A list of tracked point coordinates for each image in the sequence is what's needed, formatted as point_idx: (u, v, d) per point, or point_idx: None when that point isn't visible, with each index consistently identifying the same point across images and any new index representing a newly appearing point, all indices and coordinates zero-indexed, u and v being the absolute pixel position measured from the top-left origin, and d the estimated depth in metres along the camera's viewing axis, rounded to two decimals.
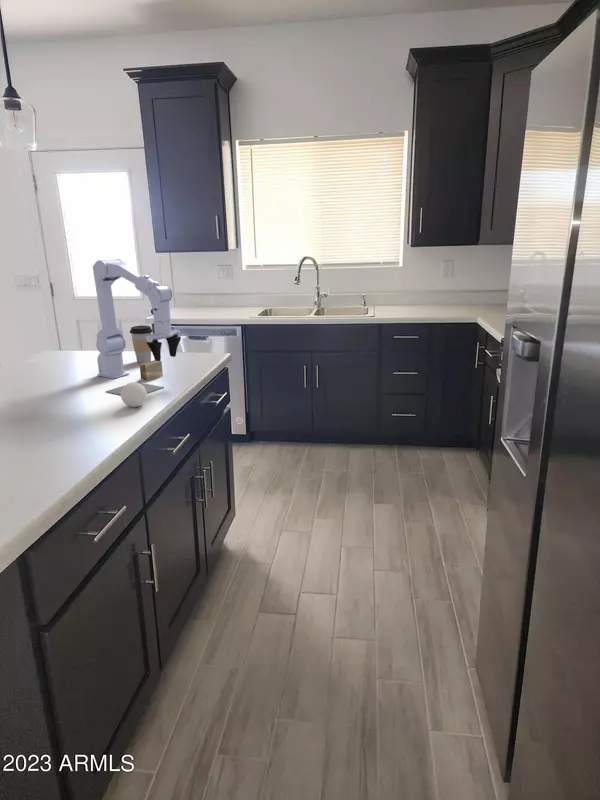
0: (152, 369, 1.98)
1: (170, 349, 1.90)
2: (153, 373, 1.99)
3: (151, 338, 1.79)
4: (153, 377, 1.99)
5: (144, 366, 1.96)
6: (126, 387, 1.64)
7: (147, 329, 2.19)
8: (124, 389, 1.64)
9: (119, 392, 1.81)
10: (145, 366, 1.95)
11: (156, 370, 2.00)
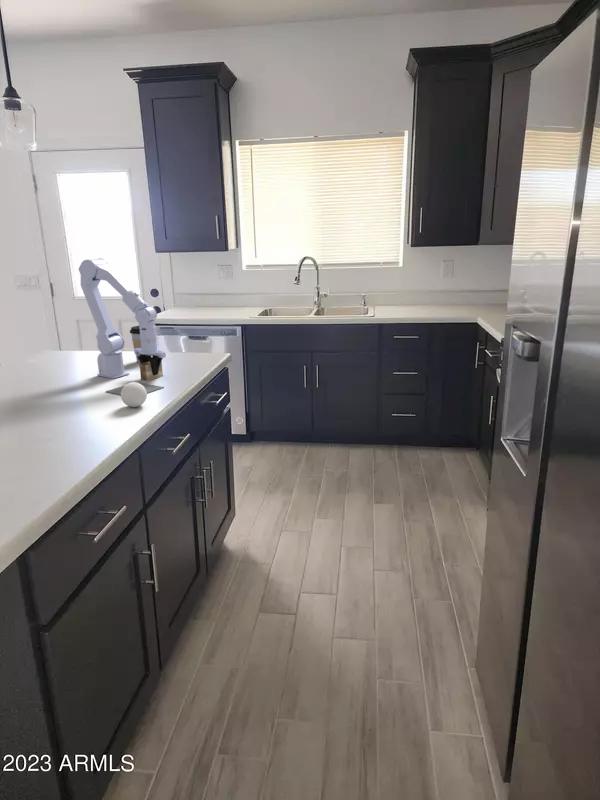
0: None
1: None
2: None
3: (135, 350, 2.00)
4: (153, 377, 1.99)
5: (144, 366, 1.96)
6: (126, 387, 1.64)
7: None
8: (124, 389, 1.64)
9: (119, 392, 1.81)
10: (145, 366, 1.95)
11: None
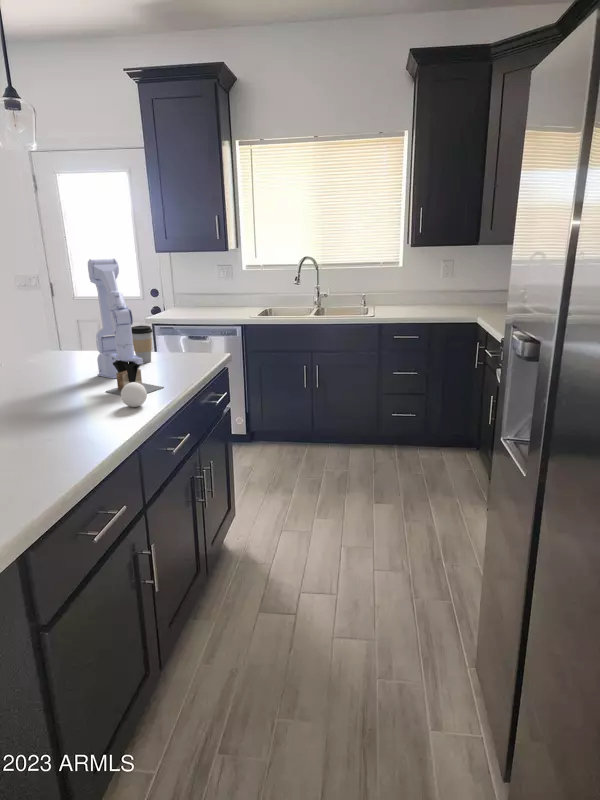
0: None
1: None
2: None
3: (110, 356, 1.86)
4: None
5: (121, 375, 1.82)
6: (126, 387, 1.64)
7: (147, 329, 2.19)
8: (124, 389, 1.64)
9: (119, 392, 1.81)
10: (122, 375, 1.81)
11: None
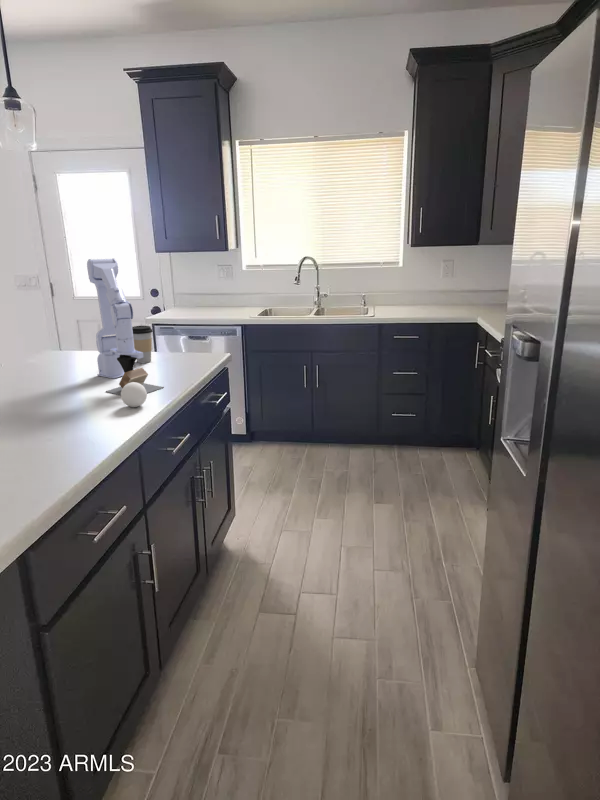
0: (135, 381, 1.83)
1: None
2: None
3: (110, 351, 1.85)
4: None
5: (128, 378, 1.80)
6: (126, 387, 1.64)
7: (147, 329, 2.19)
8: (124, 389, 1.64)
9: (119, 392, 1.81)
10: (129, 379, 1.80)
11: (138, 382, 1.85)
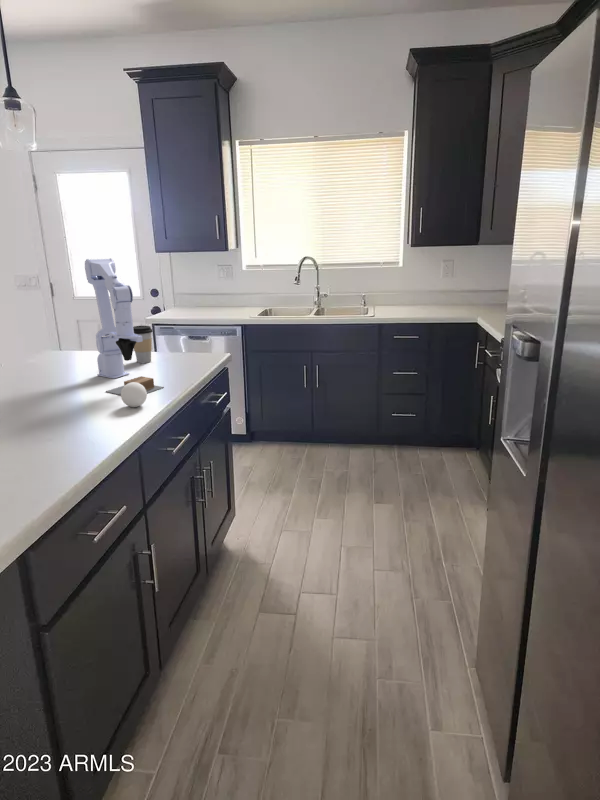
0: None
1: None
2: None
3: (110, 334, 1.84)
4: None
5: None
6: (126, 387, 1.64)
7: (147, 329, 2.19)
8: (124, 389, 1.64)
9: (119, 392, 1.81)
10: None
11: None
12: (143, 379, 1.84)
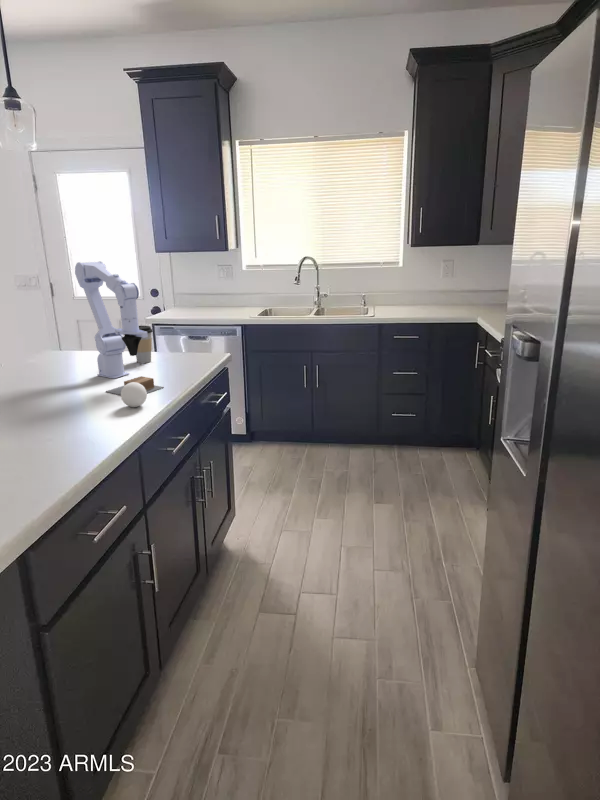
0: None
1: None
2: None
3: (116, 331, 1.91)
4: None
5: None
6: (126, 387, 1.64)
7: (147, 329, 2.19)
8: (124, 389, 1.64)
9: (119, 392, 1.81)
10: None
11: None
12: (143, 379, 1.84)
